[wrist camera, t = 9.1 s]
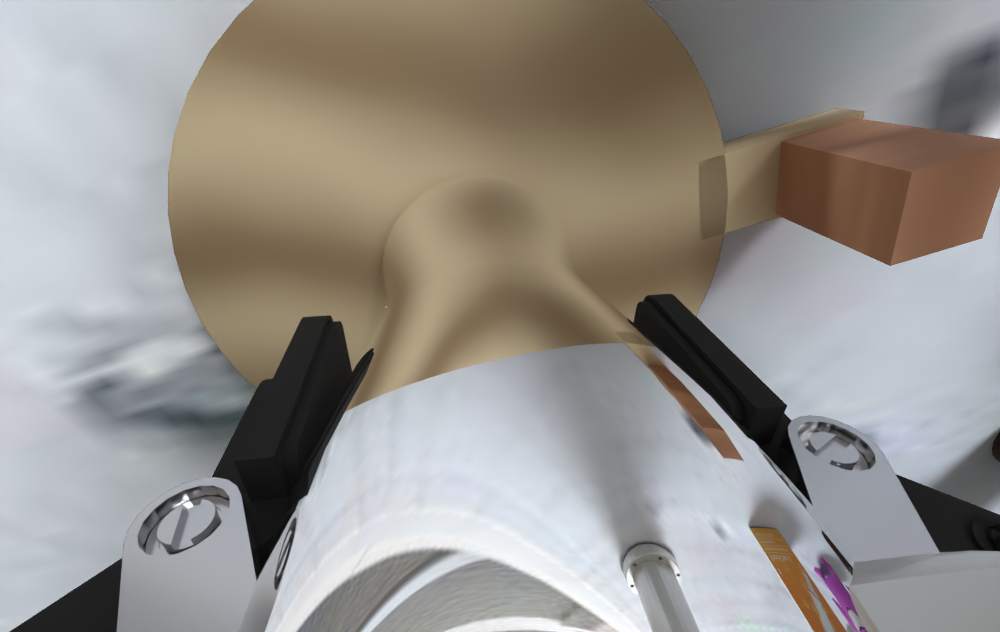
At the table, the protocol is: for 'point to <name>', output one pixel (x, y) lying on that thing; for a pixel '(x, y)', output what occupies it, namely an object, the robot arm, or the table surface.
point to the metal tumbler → (535, 463)
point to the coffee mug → (996, 448)
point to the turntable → (510, 158)
